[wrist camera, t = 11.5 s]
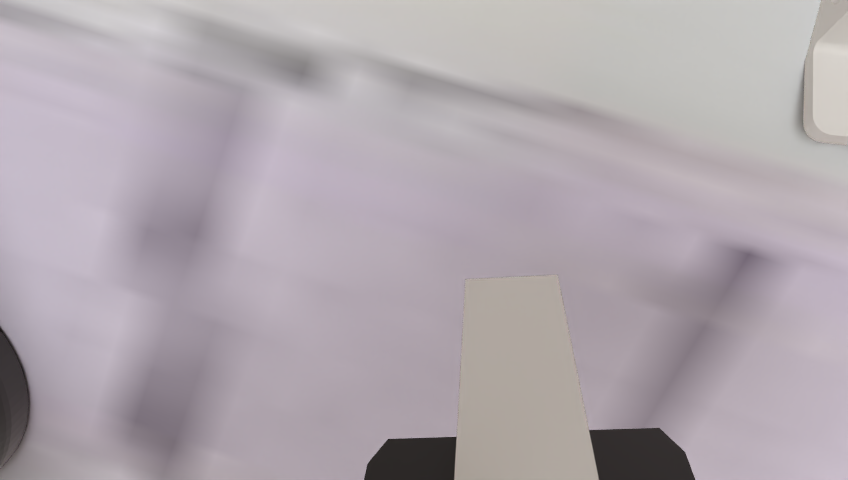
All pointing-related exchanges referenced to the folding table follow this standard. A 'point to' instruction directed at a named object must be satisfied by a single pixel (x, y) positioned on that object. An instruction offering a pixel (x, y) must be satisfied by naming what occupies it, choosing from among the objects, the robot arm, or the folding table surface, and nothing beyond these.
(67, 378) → the folding table surface
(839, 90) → the tablet stand
